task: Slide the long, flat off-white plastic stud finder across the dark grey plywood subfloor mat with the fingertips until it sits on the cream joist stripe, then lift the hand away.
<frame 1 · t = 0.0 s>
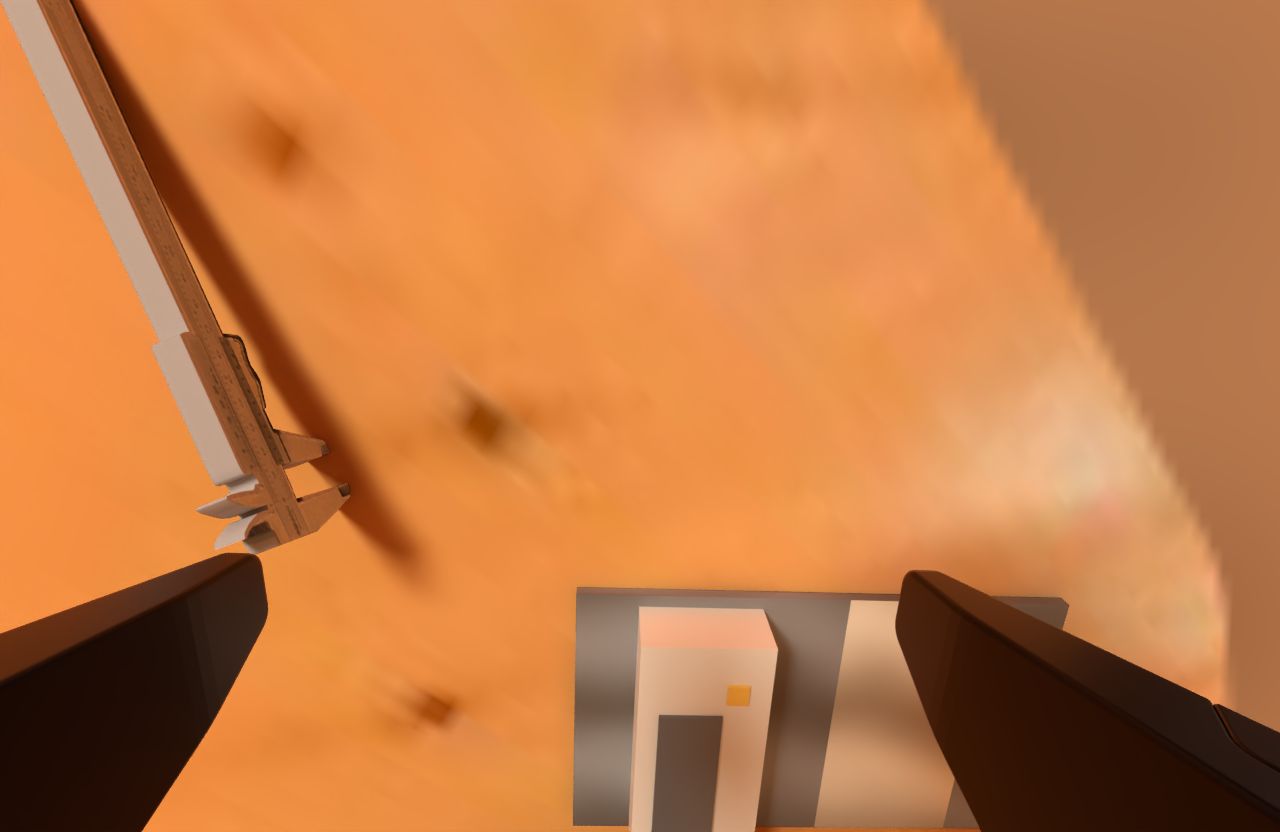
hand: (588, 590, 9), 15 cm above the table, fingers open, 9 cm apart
caliper: (200, 237, 22), on the table
subfloor panel: (805, 712, 28), on the table
stud finder: (692, 719, 27), resting on subfloor panel
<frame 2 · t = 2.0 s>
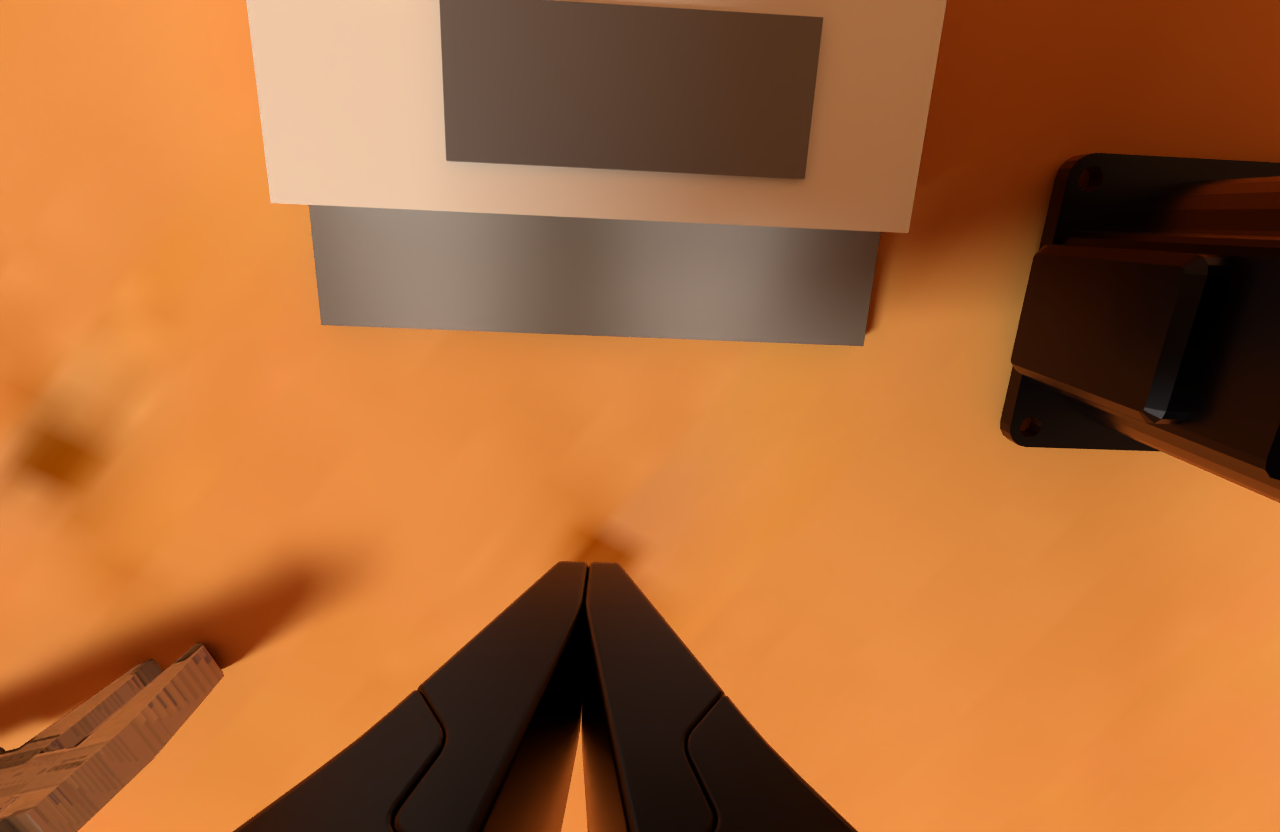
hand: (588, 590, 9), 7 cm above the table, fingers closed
stud finder: (604, 86, 13), resting on subfloor panel
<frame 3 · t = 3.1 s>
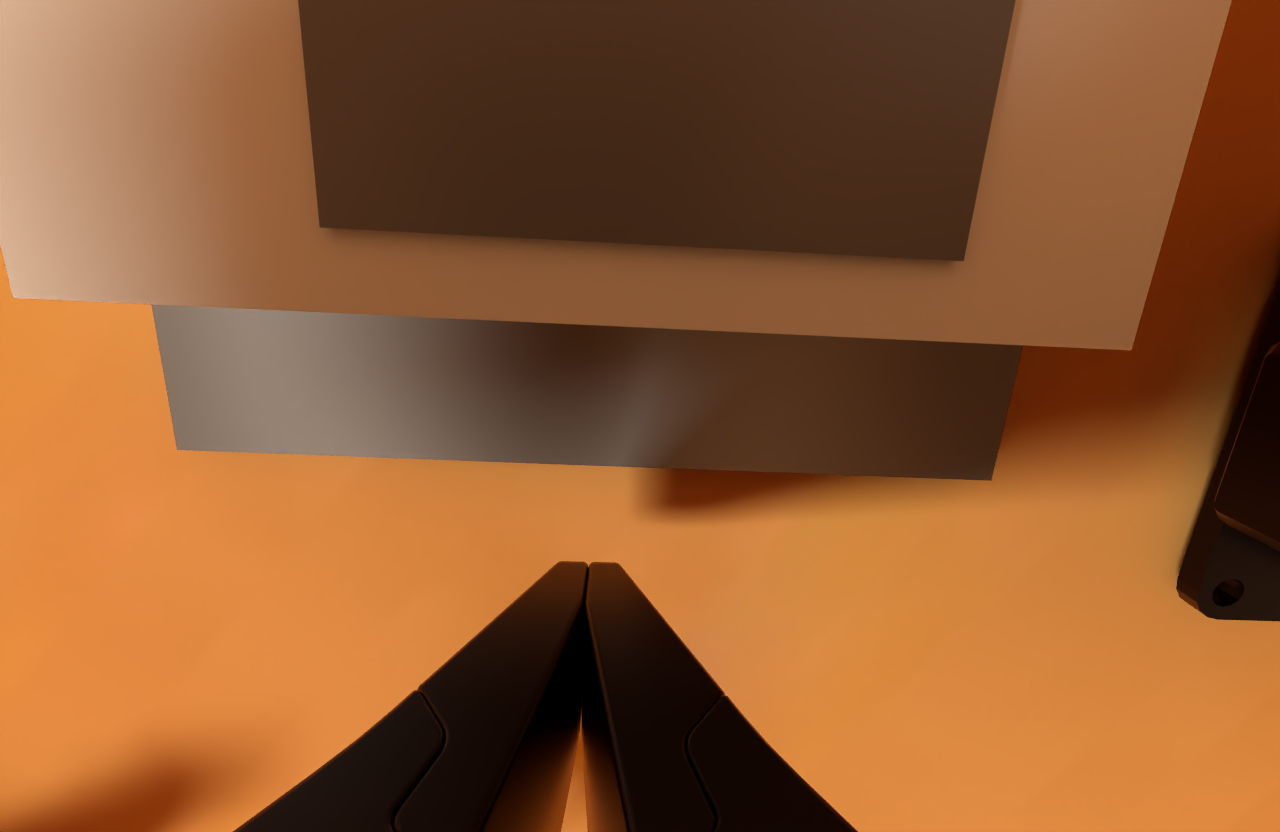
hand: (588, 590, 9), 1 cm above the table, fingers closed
stud finder: (607, 91, 8), resting on subfloor panel
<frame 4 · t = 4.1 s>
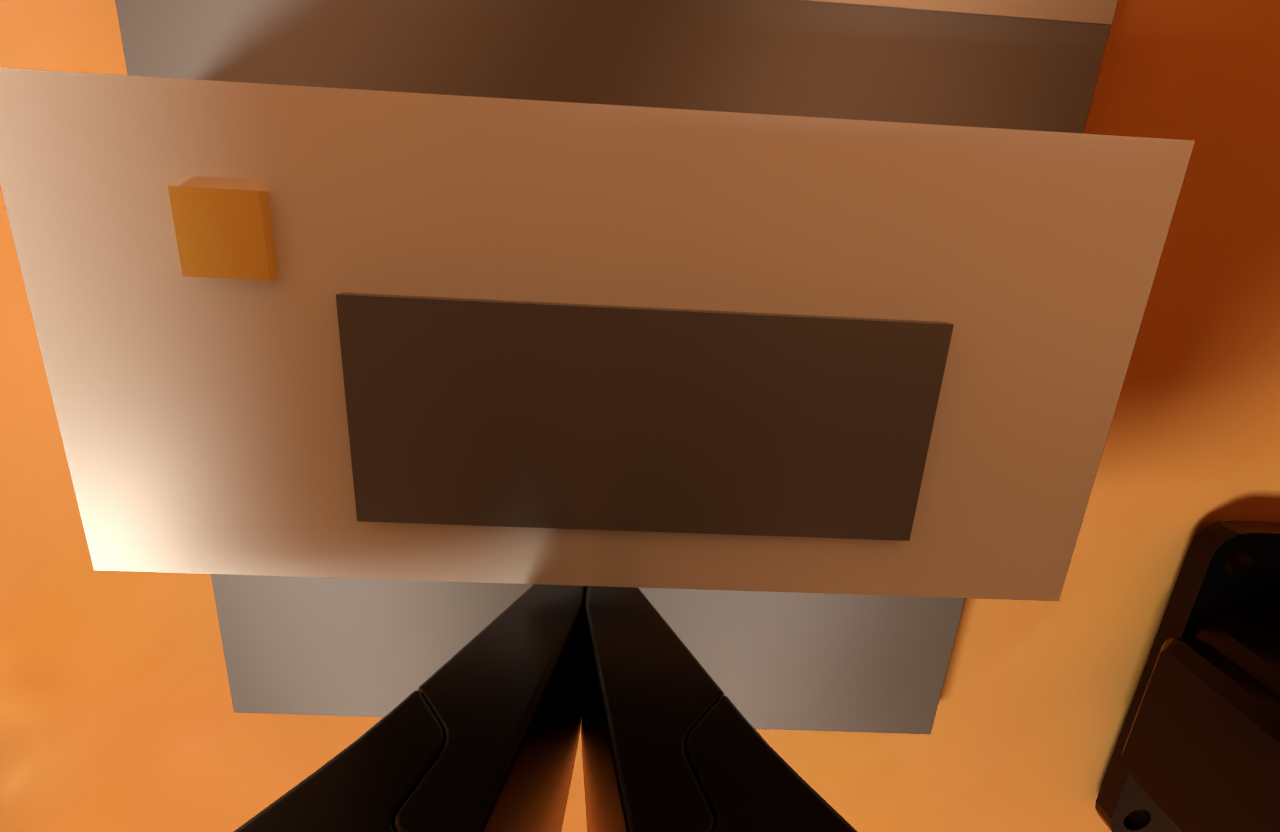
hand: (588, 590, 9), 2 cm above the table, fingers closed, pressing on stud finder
subfloor panel: (620, 86, 8), on the table
stud finder: (604, 329, 9), point 1 cm above the table, touching gripper, subfloor panel
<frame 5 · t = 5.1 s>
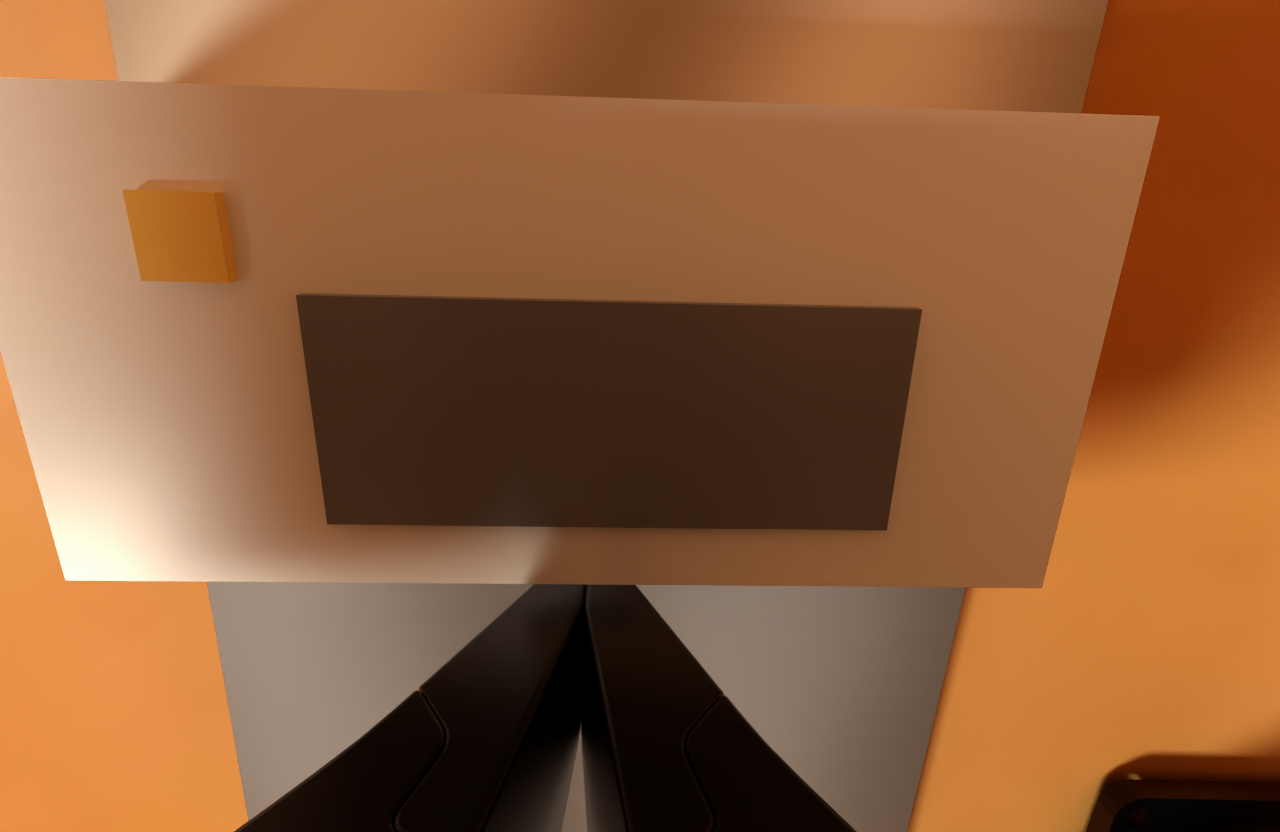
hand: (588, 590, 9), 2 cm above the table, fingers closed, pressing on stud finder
subfloor panel: (598, 472, 10), on the table
stud finder: (579, 326, 9), point 1 cm above the table, touching gripper, subfloor panel
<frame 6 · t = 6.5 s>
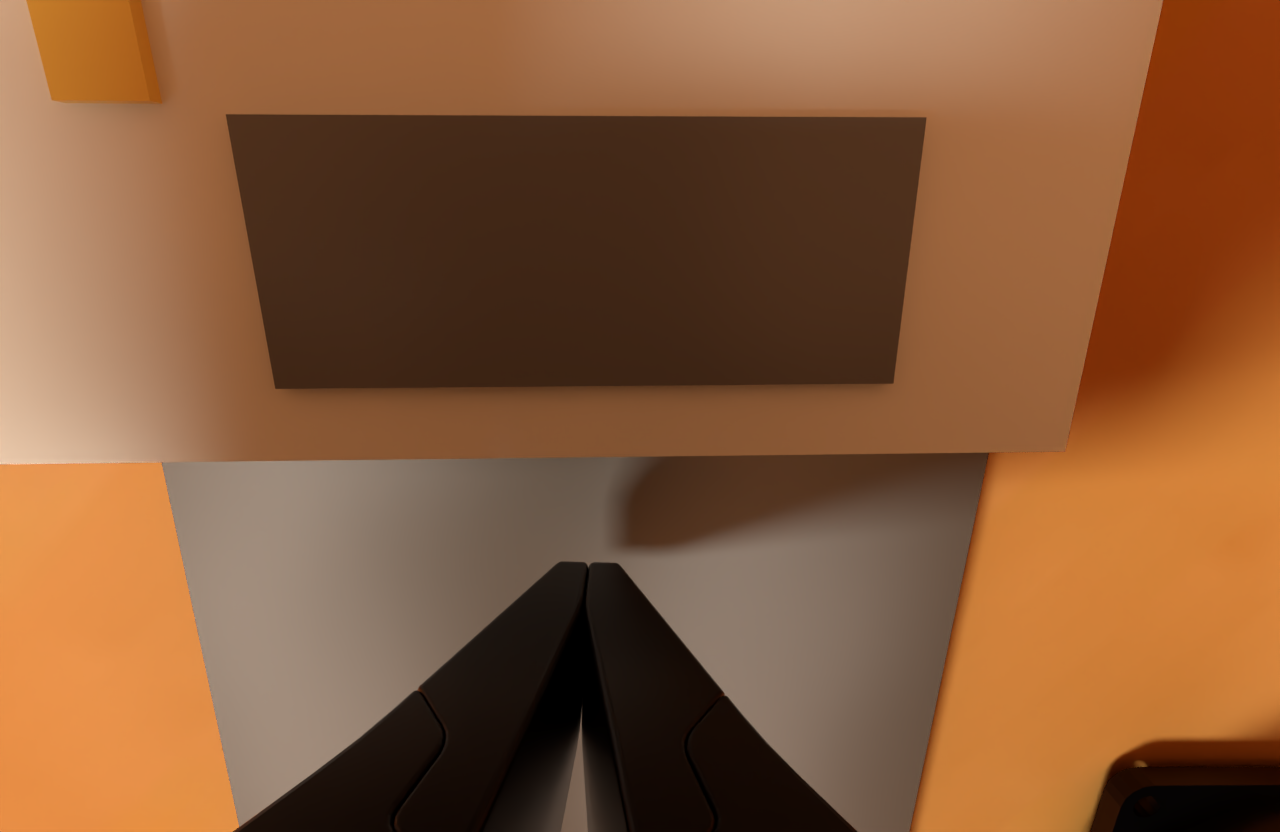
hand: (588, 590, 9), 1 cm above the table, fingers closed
subfloor panel: (585, 466, 10), on the table
stud finder: (555, 204, 8), point 1 cm above the table, touching subfloor panel
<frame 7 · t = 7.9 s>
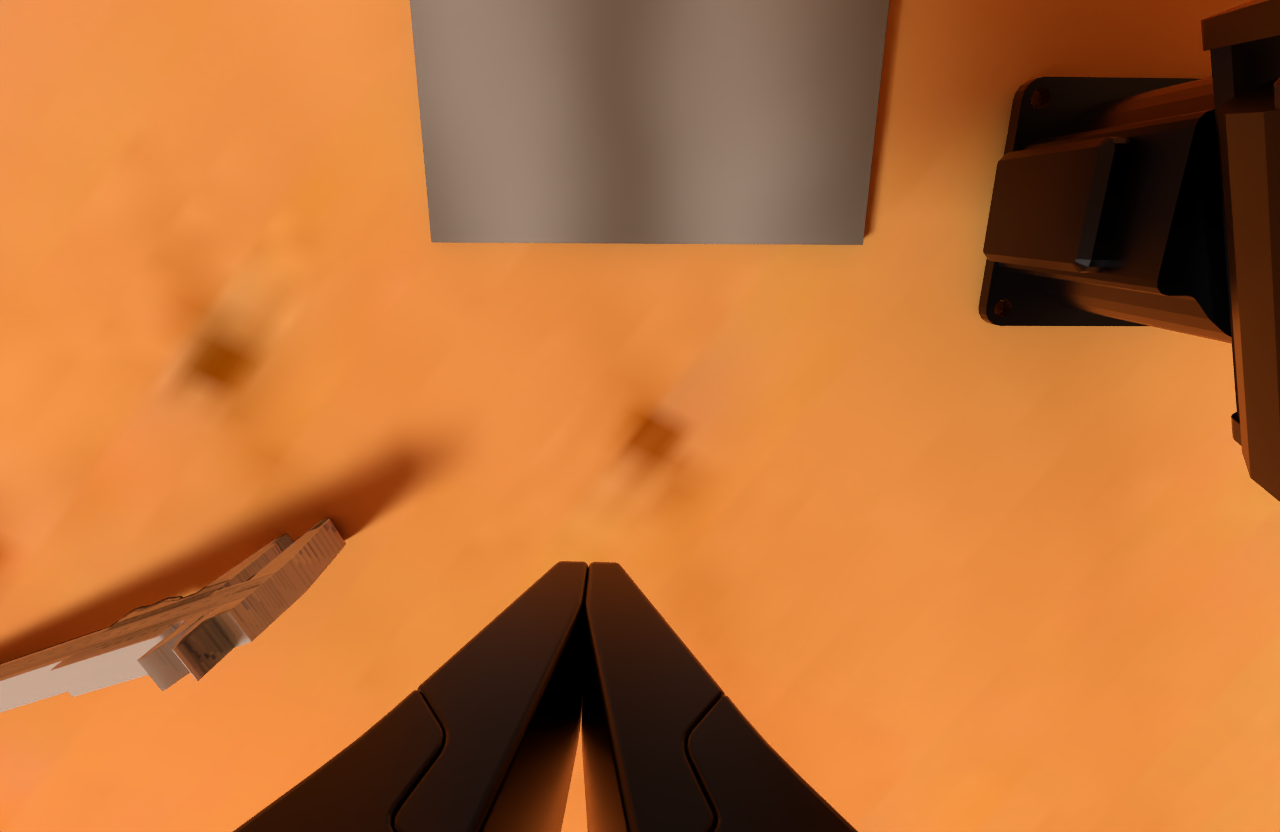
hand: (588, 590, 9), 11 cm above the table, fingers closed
caliper: (93, 627, 22), on the table
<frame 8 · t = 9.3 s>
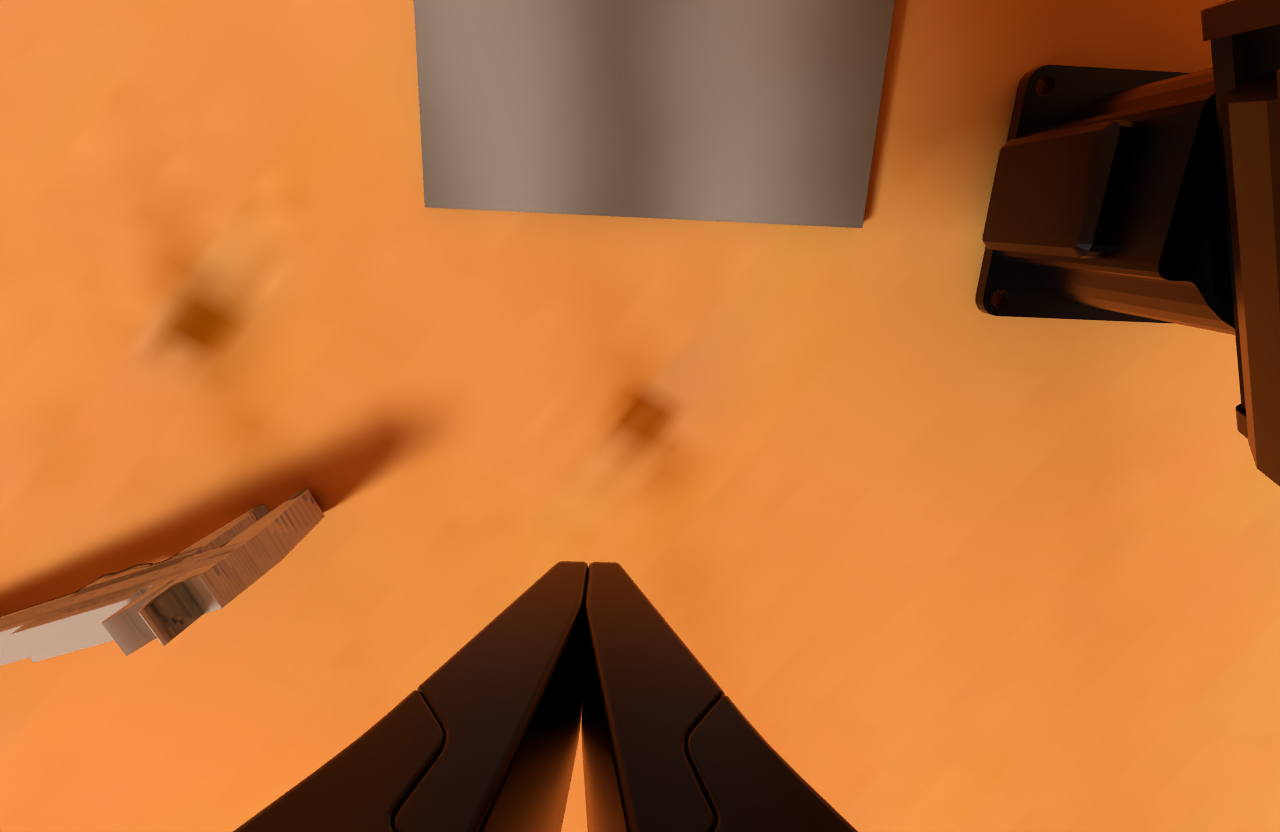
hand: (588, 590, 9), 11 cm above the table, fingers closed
caliper: (59, 595, 22), on the table
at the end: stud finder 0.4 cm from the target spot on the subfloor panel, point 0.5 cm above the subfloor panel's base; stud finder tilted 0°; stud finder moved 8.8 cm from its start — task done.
